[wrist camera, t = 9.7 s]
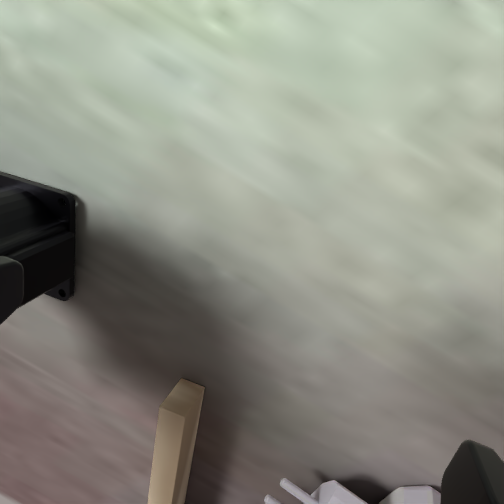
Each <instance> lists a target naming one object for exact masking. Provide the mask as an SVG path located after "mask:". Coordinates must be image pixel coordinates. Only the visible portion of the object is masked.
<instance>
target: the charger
mask: <svg viewBox="0 0 504 504" xmlns="http://www.w3.org/2000/svg"><path fill="white" fill-rule="evenodd" d="M280 486H281V487H282V488H284V489H285V490H287V491H288V492H289V493H291V494H292V495H294V496H295V497H296V498H298V499H299V500H301V501H302V502H303V503H302V504H368V503H366V502H365V501H364V500H362V499H361V498H359V497H358V496H356V495H355V494H354V493H352V492H351V491H349V490H348V489H347V488H345V487H344V486H342V485H341V484H339V483H338V482H337V481H335V480H333V481H329V482H324V483H322V484H321V485H320V486H319V487H318V488H317V489H316V490H315V491H314V492H313V493H312V494H311V495H309V494H307V493H306V492H305V491H303V490H302V489H300V488H299V487H298V486H296V485H295V484H293V483H292V482H291V481H289V480H288V479H286V478H282V479H281V481H280ZM264 502H265V503H266V504H282V503H281V502H279V501H278V500H276V499H275V498H274V497H272V496H271V495H266V497H265V499H264ZM440 503H441V493H439V492H438V491H436V490H435V489H433V488H432V487H430V486H428V485H424V486H407V487H399V488H397V489H396V490H394V491H393V492H392V493H391V494H389V495H388V496H387V497H386V498H385V499H383V500H382V501H381V502H380V503H379V504H440Z"/></svg>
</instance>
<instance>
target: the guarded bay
mask: <svg viewBox="0 0 504 504" xmlns="http://www.w3.org/2000/svg"><path fill="white" fill-rule="evenodd" d="M204 390H205V387H203V386H200V385H198V384H195V383H193V382H190V381H188V380H185V379H182V378H181V379H180V380H179V382H178V383H177V384H176V386H175V387H174V388H173V390H172V391H171V392H170V394H169V395H168V396H167V397H166V399H165V400H164V401H163V403H162V404H161V405H160V407H159V415H158V423H157V431H156V439H155V447H154V455H153V464H152V472H151V480H150V488H149V496H148V504H184V503H185V498H186V492H187V486H188V480H189V475H190V469H191V463H192V458H193V452H194V446H195V441H196V435H197V429H198V424H199V418H200V412H201V407H202V401H203V395H204Z"/></svg>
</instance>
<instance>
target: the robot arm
mask: <svg viewBox="0 0 504 504" xmlns="http://www.w3.org/2000/svg"><path fill="white" fill-rule="evenodd" d="M63 199H64V200H65V202H66V205H65V203H64V201H63ZM74 263H75V200H74V198H73V196H72V195H71V194H70V193H68V192H65V191H62V190H59V189H55V188H52V187H49V186H46V185H42V184H39V183H36V182H32V181H29V180H26V179H23V178H19V177H16V176H13V175H10V174H6V173H3V172H0V324H2V323H3V322H4V321H5V320H6V319H7V318H8V317H9V316H10V315H11V314H12V313H13V312H14V311H15V310H16V309H18V308H19V307H21V306H23V305H25V304H26V303H28V302H30V301H32V300H33V299H35V298H37V297H39V296H40V295H42V294H46V295H49V296H51V297H54V298H57V299H59V300H62V301H66V300H68V299H70V298H72V297H73V296H74ZM64 291H65V292H64ZM440 504H504V462H503V461H502V460H501V458H500V457H499V456H498V455H497V453H496V452H495V451H494V450H493V449H491V448H490V447H487V446H485V445H482V444H480V443H477V442H475V441H472V440H465V441H464V442H463V443H462V444H461V445H460V447H459V448H458V450H457V452H456V453H455V455H454V457H453V458H452V460H451V462H450V463H449V465H448V467H447V468H446V470H445V472H444V475H443V478H442V483H441V503H440Z"/></svg>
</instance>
